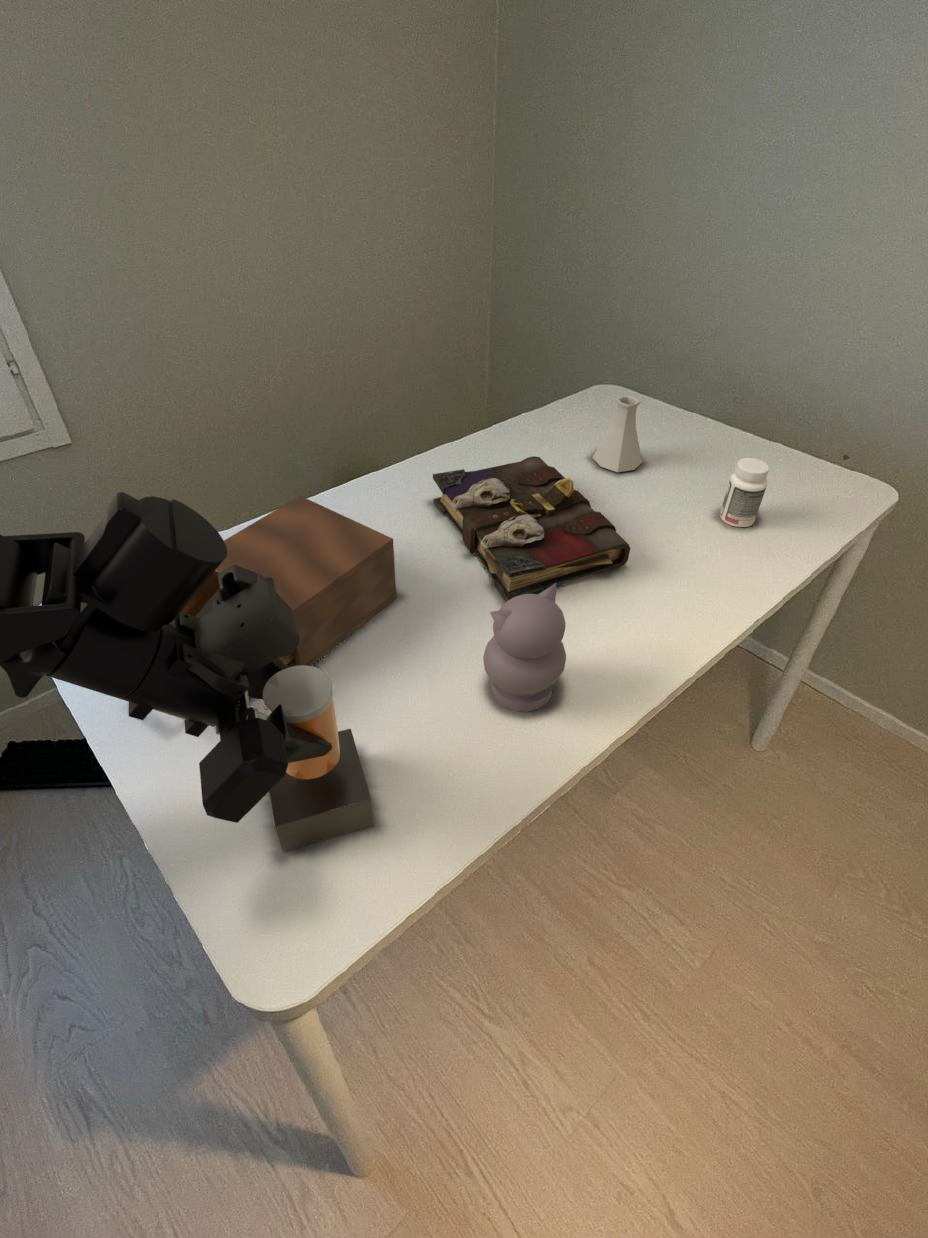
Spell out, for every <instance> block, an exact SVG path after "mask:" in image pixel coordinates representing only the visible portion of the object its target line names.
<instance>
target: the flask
mask: <svg viewBox="0 0 928 1238" xmlns="http://www.w3.org/2000/svg"><path fill="white" fill-rule="evenodd" d="M615 402H616V404H617V408H616V412H615V415H614V418H613V420H612V423H611V425H610V427H609V429H608V430H607V432H606V434H605V435H604V438H603V439H602V441H601V442H600V444H599V446H598V447H597V449H596V450H595V452H594V454H593V456H592V459H593V460H594V461H595V463H597V465H599V466H600V467H601V468H604V469H607V470H609V471H613V472H615V473H621V472H622V473H623V472H629V471H635V470H636V469H637V468H639V466H640V465H642V463H643V457H642V452H641V447H640V443H639V438H638V437H639V436H638V431H637V425H636V423H637V422H636V421H637V420H636V418H637V416H636V415H637V410H638V409H637V408H638V406H640V404H641V401H640V400H639V399H638V397H635V396H632V395H620V396H619V397H618V398H616V400H615Z"/></svg>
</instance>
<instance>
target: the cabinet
mask: <svg viewBox="0 0 928 1238" xmlns="http://www.w3.org/2000/svg"><path fill="white" fill-rule="evenodd" d="M223 540H224V543H225V545H226V547H227V556H226V558H225V559H224V560H223V562H222V563H221V564H220V565H219V566H218V568H217V569H216V570H215V571H214V572H213V574H214V575H216V576H218V574H219V573H220V572H222V571H223V570H225V569H227V568H228V567H230V566H232V565H237V566H240V567H243V568H245V569H248V570H251V571H253V572H256V573H257V574H258V575H259V574H262V575H263V576H264V577H270V578H272V579H273V580H274V583H275V587H276V591H277V593H278V594H279V595H280V596H281V598H282V599H283V600H284V601H285V602H286V603H287V604H288V605H289V606H290V607H291V608H292V609H293V612H294V620H295V624H296V628H297V631H298V633H299V636H300V642H299V645H298V647H297V648H296V649H295V651H293V652H294V657H295V658H294V659H293V660H291V661H290V662H289V663H287V664H286V665H287V666H289V667H293V666H301V665H303V666H312V667H313V665H314V664H316V663H317V662H318V661H319V660H321V659H322V658H323V657H324V656H325V655H327V654H328V653H329V652H330V651H332V650H333V649H334V648H335V647H336V646H338V645H340V643H342V642H343V641H345V639H347V638H348V637H349V636H350V635H352V634H353V633H354V632H355V631H356V630H358V629H360V628H361V627H362V626H363V625H364V624H366V623H367V622H368V621H370V619H372V618H373V617H374V616H375V615H376V614H378V613H379V612H380V611H382V610H383V609H384V608H386V606H388V605H389V604H390V603H391V602H393V601H394V600H395V599H396V598H397V583H396V566H395V549H394V538H393V537H390V536H388V535H387V534H384V533H381V532H380V531H377V530H376V529H373V528H371V527H368V526H367V525H365V524H362V523H360V522H358V521H356V520H354V519H352V518H349V517H347V516H345V515H343V514H341V513H338V512H337V511H335V510H332V509H330V508H328V507H325V506H323V505H321V504H319V503H318V502H315V501H313V500H310V499H309V498H307V497H304V496H302V495H298V496H297V497H295V498H293V499H292V500H289V501H288V502H286V503H285V504H283V505H281V506H280V507H278V508H276V509H275V510H273V511H271V512H270V513H268V514H267V515H264V516H263V517H261V518H260V519H258V520H256V521H254V522H253V523H251V524H250V525H248V526H246V527H244V528H243V529H240V530H239V531H238V532H235V533H233V535H231V536H229V537H228V538H226V539H223Z"/></svg>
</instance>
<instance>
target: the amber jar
mask: <svg viewBox="0 0 928 1238" xmlns="http://www.w3.org/2000/svg"><path fill="white" fill-rule="evenodd" d="M262 702H263V705H264V708H265V710H266V712H267V715H270V714H271V713H272V712H273V711H274V710H275V709H276V707H277V706H278V705H279V704H281V705H282V707H283V712H284V716H285V720H286V722H287V723H290V724H292V725H294V726H296V727H299V728H301V729H303V730H306V731H308V732H310V733H312V734H315V735H317V736H319V737H321V738H323V739H325V740H326V741H328V742H330V743H331V744H332V747H333V748H332V749H331V750H330V751H329V752H328V753H327V754H326V755H324V756H320V757H315V758H311V759H306V760H301V761H296V762H291V763H288V767H287V770H286V773H288V774H289V775H290V776H292V777H295V778H298V779H314V778H318V777H321V776H323V775H325V774H327V773H328V772H330V771H331V770H332V769H333V768H334V767H335V766H336V764H337V763H338V761H339V759H340V755H341V748H340V741H339V735H338V732H339V728H338V723H337V722H338V721H337V717H336V708H335V702H334V689H333V682H332V679H331V677H330V676H329V674H327V673H326V672H325V671H324V670H322V669H320V668H319V667H315V666H313V665H312V666H303V665H301V666H293V667H291V666H288V668H286V669H283V670H281V671H279V672H278V673H276V674H275V675H273V676H272V677H271V678H270V679H269V680H268V681H267V683H266V684H265V687H264V689H263V700H262Z"/></svg>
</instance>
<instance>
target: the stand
mask: <svg viewBox="0 0 928 1238" xmlns="http://www.w3.org/2000/svg"><path fill="white" fill-rule="evenodd" d="M338 735H339V741H340V748H341V755H340V759H339V761H338V763H337V764H336V766H335V767H334V768H333V769H332V770H331V771H330V772H328V773H327V774H325V775H323V776H321V777H318V778H314V779H298V778H295V777H292V776H290V775H289V774H288V773H285V776H284V777H283V778H282V779H281V780H280V781H279V782H278V783H277V784H276V785H275V786H274V787H273V788H272V789H271V790H270V791H269V792H268V797H269V803H270V809H271V814H272V821H273V827H274V830H275V833H276V836H277V840H278V844H279V847H280V850H281V852H282V853H283V852H287V851H290V850H294V849H298V848H302V847H304V846H305V847H306V846H308V845H312V844H315V843H318V842H319V843H320V842H321V841H325V840H329V839H332V838H335V837H339V836H342V835H346V834H350V833H353V832H355V831H360V830H364V829H367V828H370V827H373V826H375V818H374V817H375V816H374V809H373V801H372V797H371V794H370V791H369V790H370V789H369V786H368V783H367V780H366V776H365V773H364V769H363V766H362V763H361V758H360V756H359V752H358V748H357V745H356V741H355V737H354V734H353V732H352V729H351V728H347V729H343V730H340V731H339V730H338Z"/></svg>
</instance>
